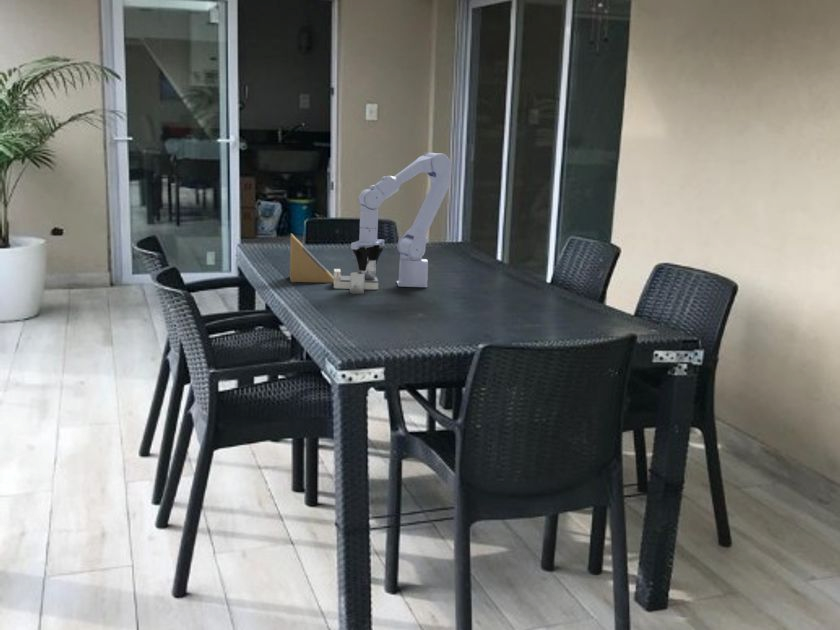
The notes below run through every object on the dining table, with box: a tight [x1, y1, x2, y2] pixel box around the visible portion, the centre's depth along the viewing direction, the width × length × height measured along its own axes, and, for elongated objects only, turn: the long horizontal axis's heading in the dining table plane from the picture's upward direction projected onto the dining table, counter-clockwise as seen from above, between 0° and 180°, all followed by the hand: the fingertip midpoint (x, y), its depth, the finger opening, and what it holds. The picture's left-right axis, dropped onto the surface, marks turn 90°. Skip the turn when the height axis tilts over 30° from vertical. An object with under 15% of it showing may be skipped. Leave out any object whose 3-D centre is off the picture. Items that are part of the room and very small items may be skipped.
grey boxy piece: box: [332, 268, 379, 290], centre depth 281 cm, size 14×9×5 cm, turn 97°
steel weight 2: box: [361, 258, 377, 280], centre depth 281 cm, size 4×4×6 cm
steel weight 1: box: [349, 271, 365, 295], centre depth 272 cm, size 4×4×6 cm
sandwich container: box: [289, 233, 334, 283], centre depth 288 cm, size 9×15×15 cm, turn 101°
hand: (367, 269), depth 281 cm, fingers closed on steel weight 2, 4 cm apart
